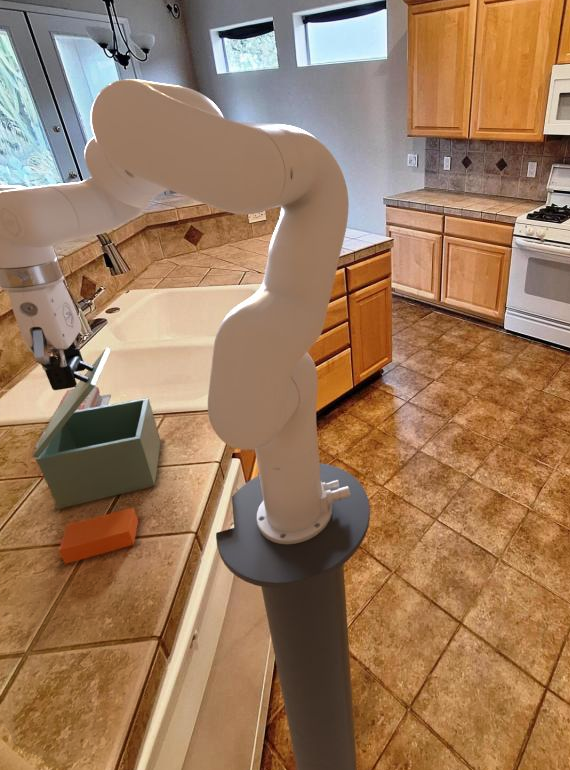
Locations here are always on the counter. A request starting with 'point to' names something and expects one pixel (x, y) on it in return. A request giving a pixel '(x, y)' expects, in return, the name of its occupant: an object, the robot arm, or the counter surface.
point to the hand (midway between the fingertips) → (69, 378)
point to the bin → (102, 453)
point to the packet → (99, 535)
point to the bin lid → (73, 396)
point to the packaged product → (85, 403)
